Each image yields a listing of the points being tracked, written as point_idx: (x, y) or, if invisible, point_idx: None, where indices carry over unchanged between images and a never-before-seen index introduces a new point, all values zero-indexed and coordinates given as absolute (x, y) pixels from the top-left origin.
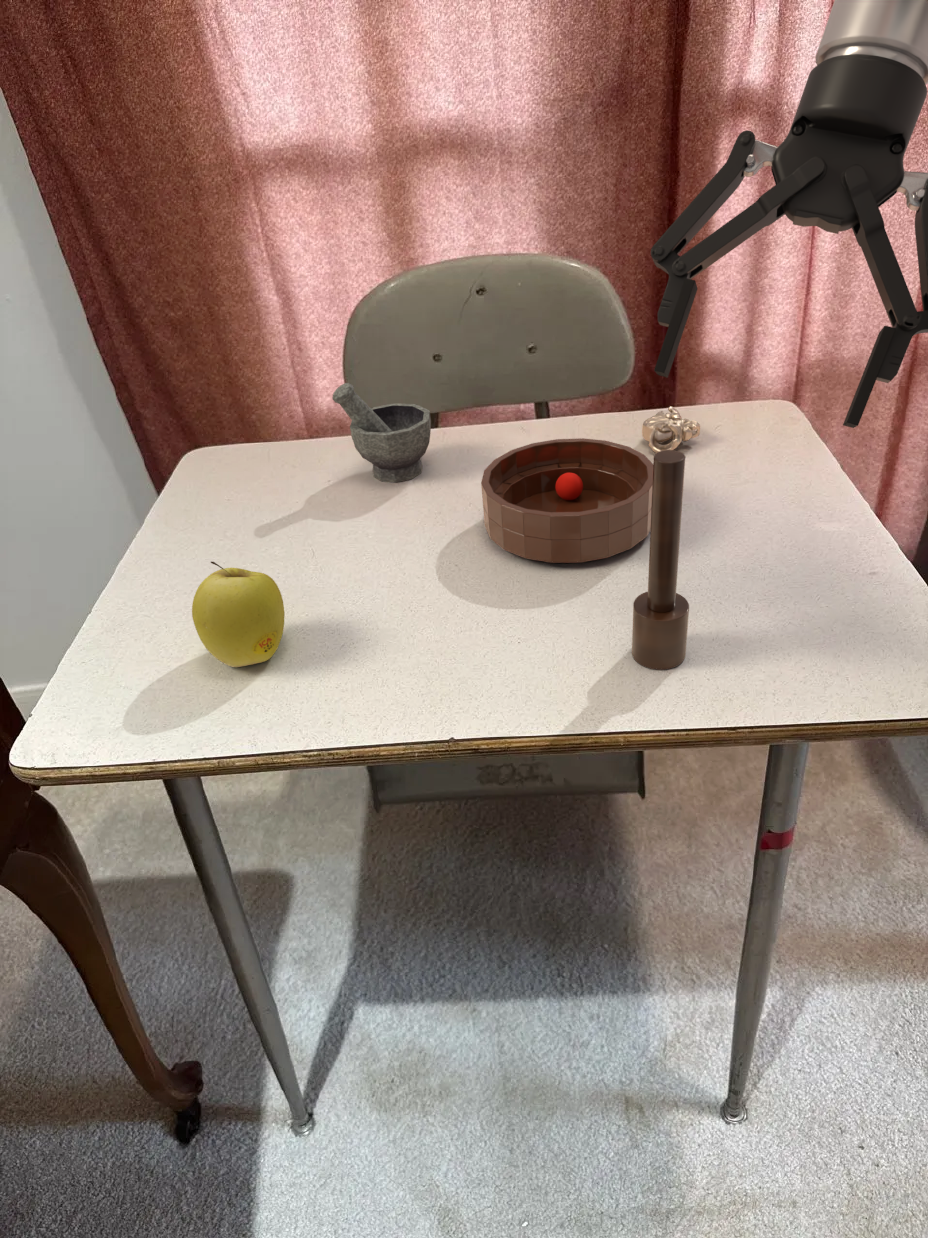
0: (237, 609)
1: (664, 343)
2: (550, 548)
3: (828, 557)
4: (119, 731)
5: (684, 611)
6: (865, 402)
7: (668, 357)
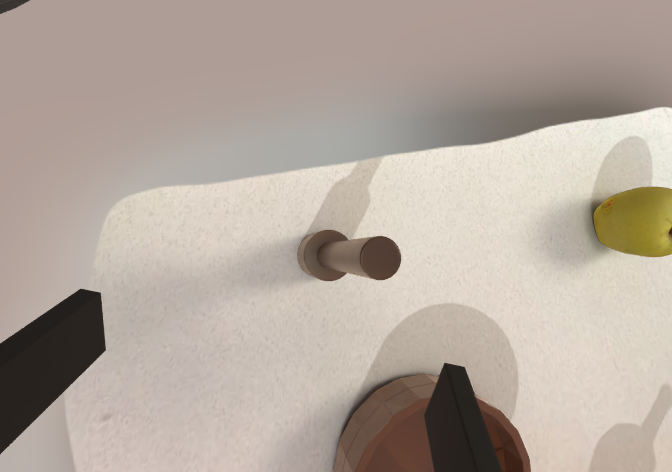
0: (656, 192)
1: (477, 409)
2: (431, 379)
3: (149, 442)
4: (645, 138)
5: (308, 246)
6: (48, 314)
7: (453, 386)
